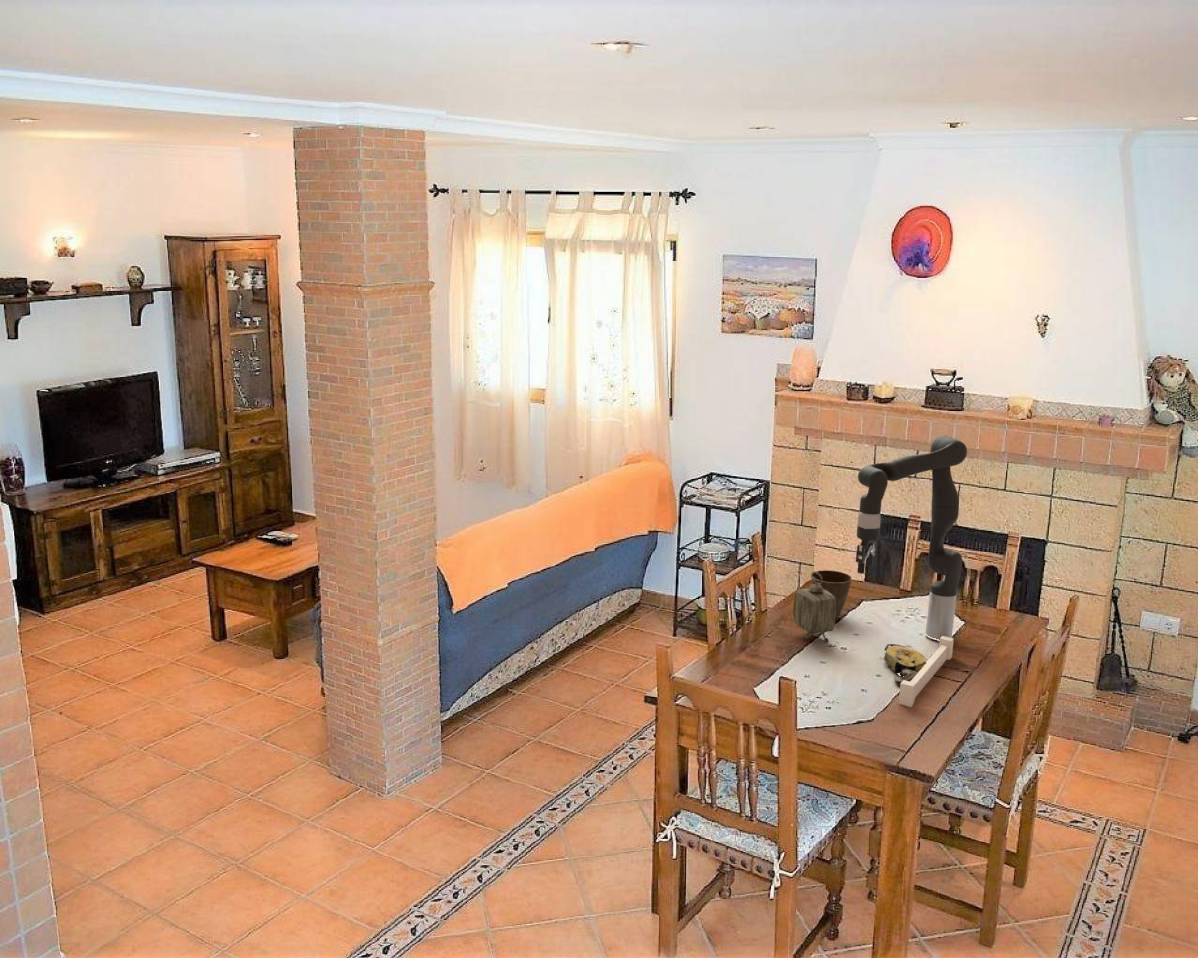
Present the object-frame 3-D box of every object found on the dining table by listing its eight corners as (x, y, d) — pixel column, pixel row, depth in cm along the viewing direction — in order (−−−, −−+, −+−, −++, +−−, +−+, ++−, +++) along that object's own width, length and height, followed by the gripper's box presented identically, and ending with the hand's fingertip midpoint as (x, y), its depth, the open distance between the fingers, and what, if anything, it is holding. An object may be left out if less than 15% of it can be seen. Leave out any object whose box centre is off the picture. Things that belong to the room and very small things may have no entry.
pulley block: (885, 668, 355) (886, 635, 383) (880, 684, 356) (882, 650, 384) (929, 680, 352) (927, 646, 380) (924, 696, 353) (923, 661, 382)
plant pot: (801, 610, 422) (804, 571, 418) (835, 607, 427) (839, 568, 423) (820, 624, 408) (823, 584, 405) (855, 621, 413) (859, 581, 409)
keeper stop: (940, 654, 383) (942, 635, 382) (951, 657, 381) (953, 638, 380) (898, 703, 344) (900, 683, 342) (911, 707, 342) (913, 686, 340)
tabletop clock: (833, 643, 391) (838, 577, 385) (811, 647, 387) (816, 580, 381) (811, 629, 404) (816, 565, 398) (790, 632, 400) (794, 567, 394)
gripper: (865, 518, 381) (861, 562, 385) (851, 527, 370) (847, 573, 373) (886, 521, 377) (882, 566, 381) (872, 531, 366) (868, 577, 370)
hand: (864, 569), depth 377 cm, fingers open, 8 cm apart
